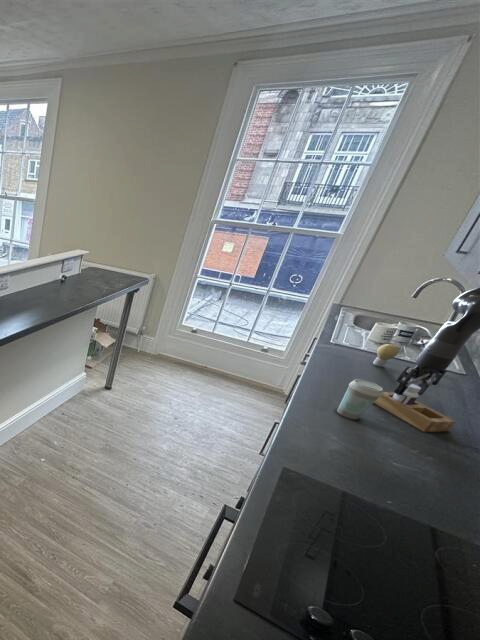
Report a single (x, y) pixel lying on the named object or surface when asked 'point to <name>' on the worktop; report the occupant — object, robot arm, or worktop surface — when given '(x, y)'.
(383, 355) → the light bulb
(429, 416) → the tray
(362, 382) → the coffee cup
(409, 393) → the pill bottle
